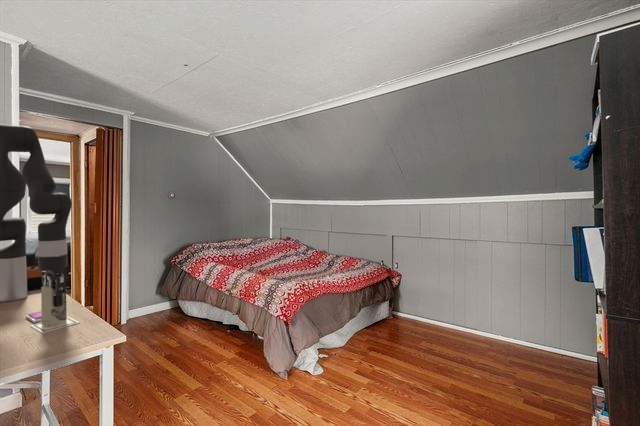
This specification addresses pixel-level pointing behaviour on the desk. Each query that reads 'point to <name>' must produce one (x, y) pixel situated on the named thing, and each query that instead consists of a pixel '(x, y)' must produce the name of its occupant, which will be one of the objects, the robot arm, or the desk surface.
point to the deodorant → (31, 260)
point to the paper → (47, 329)
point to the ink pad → (35, 317)
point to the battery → (34, 278)
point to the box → (52, 308)
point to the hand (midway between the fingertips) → (54, 304)
